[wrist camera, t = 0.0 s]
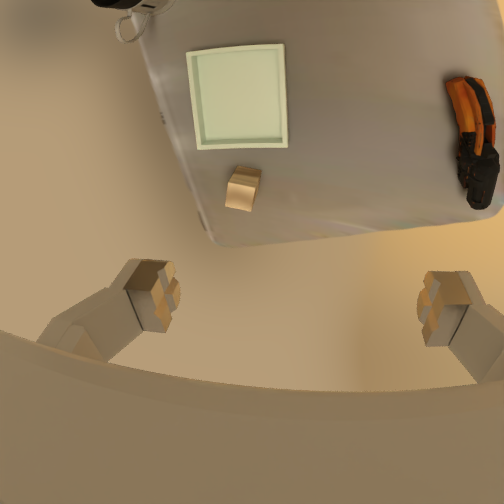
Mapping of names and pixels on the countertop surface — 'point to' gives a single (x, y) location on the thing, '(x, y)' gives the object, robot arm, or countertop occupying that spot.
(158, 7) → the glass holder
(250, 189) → the block
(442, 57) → the countertop surface
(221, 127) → the tray
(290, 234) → the countertop surface
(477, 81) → the tool
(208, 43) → the countertop surface
